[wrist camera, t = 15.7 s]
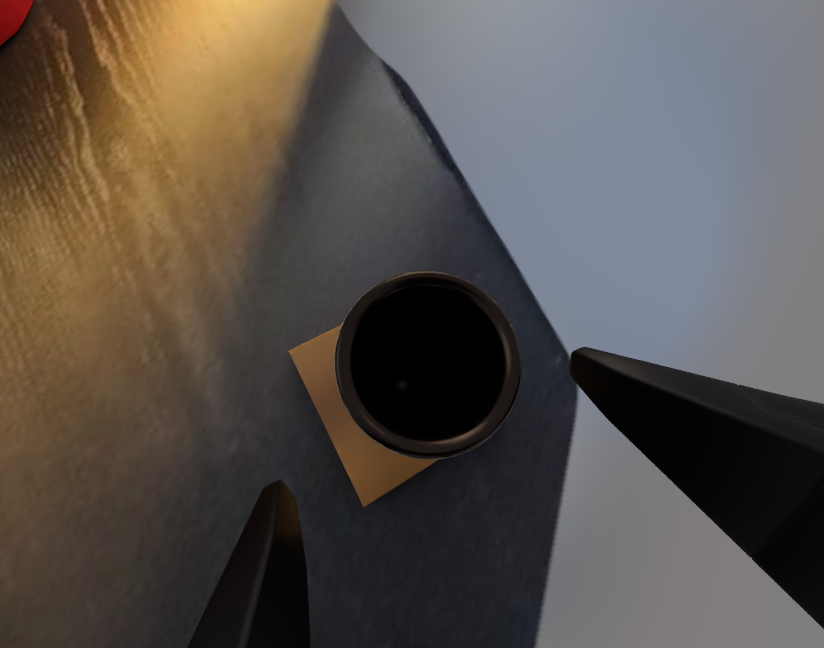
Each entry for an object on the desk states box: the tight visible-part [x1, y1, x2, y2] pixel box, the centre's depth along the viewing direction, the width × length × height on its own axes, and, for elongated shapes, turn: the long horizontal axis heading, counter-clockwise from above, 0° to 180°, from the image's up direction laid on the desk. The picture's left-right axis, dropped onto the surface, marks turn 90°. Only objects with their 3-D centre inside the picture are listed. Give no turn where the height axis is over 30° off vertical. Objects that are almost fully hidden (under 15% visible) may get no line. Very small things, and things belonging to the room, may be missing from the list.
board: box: [289, 325, 439, 507], centre depth 18 cm, size 9×9×1 cm
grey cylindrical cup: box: [334, 271, 521, 460], centre depth 12 cm, size 4×4×10 cm
